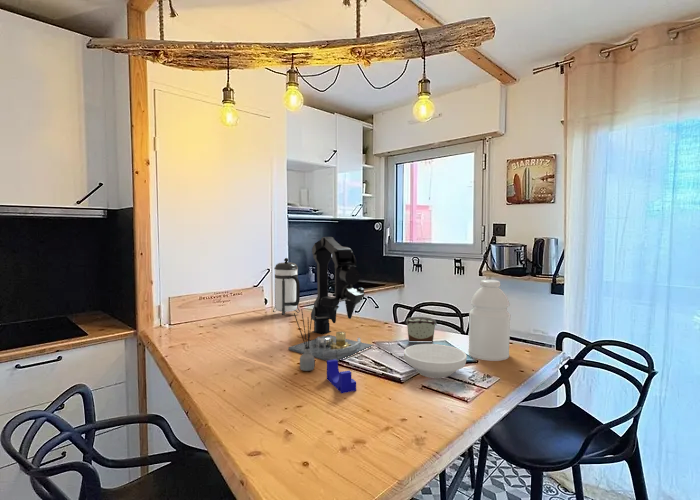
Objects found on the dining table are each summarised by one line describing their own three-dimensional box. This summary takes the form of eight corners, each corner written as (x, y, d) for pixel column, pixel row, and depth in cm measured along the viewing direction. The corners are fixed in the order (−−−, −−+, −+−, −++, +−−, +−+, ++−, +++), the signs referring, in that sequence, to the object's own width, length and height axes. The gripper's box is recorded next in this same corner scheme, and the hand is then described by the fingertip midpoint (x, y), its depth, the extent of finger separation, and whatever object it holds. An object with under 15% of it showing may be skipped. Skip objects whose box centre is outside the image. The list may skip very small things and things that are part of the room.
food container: (434, 340, 164) (435, 316, 163) (436, 345, 158) (436, 320, 157) (404, 339, 165) (405, 316, 164) (405, 343, 159) (405, 319, 158)
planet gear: (326, 348, 148) (326, 333, 148) (339, 344, 154) (339, 329, 154) (341, 353, 143) (342, 336, 143) (354, 348, 149) (354, 332, 149)
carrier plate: (288, 349, 150) (288, 340, 150) (328, 337, 168) (328, 329, 168) (334, 363, 135) (334, 353, 135) (372, 347, 153) (373, 338, 153)
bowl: (429, 391, 112) (430, 367, 112) (391, 369, 130) (391, 348, 129) (480, 380, 121) (480, 357, 121) (438, 361, 139) (438, 341, 138)
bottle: (461, 357, 142) (463, 280, 141) (478, 349, 152) (480, 277, 151) (499, 367, 133) (502, 284, 131) (515, 357, 143) (517, 280, 141)
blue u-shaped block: (356, 392, 112) (356, 371, 112) (341, 394, 110) (341, 373, 110) (340, 377, 123) (340, 358, 123) (326, 379, 121) (326, 360, 121)
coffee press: (267, 315, 209) (267, 258, 208) (278, 309, 225) (277, 256, 224) (299, 316, 207) (299, 259, 205) (307, 310, 222) (307, 257, 221)
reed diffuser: (319, 373, 126) (320, 311, 125) (299, 377, 122) (299, 313, 121) (307, 363, 135) (307, 305, 133) (288, 367, 131) (287, 307, 130)
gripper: (342, 285, 139) (342, 329, 140) (373, 280, 153) (373, 319, 155) (319, 282, 146) (319, 324, 147) (351, 277, 160) (351, 315, 162)
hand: (342, 320), depth 152 cm, fingers open, 9 cm apart
